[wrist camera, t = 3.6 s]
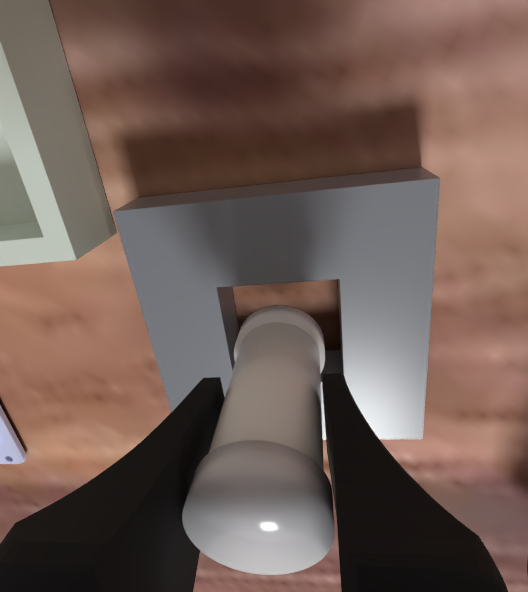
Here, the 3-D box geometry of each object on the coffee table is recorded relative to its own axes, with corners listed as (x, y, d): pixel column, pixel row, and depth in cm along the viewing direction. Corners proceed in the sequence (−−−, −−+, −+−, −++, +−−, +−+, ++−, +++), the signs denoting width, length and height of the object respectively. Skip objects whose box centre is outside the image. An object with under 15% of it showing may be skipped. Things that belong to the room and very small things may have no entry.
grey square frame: (192, 406, 23) (179, 440, 20) (138, 197, 17) (112, 211, 15) (410, 402, 21) (422, 439, 19) (421, 167, 16) (439, 177, 13)
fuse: (244, 379, 17) (197, 571, 10) (232, 307, 16) (167, 475, 9) (326, 377, 17) (337, 578, 10) (321, 302, 15) (330, 476, 8)
